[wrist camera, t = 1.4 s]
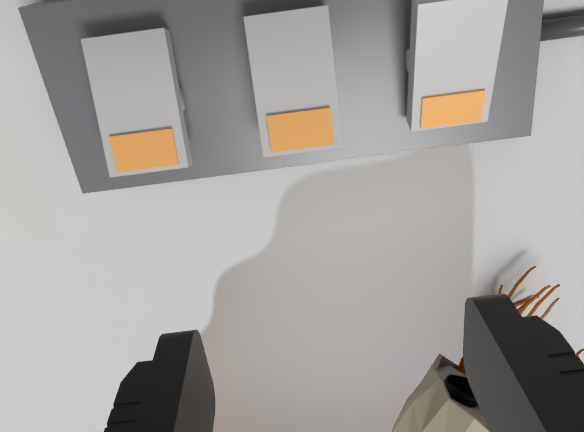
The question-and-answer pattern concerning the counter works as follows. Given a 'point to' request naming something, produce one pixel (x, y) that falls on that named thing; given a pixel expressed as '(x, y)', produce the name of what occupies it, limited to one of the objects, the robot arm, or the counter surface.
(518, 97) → the power strip
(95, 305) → the counter surface
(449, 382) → the nautilus
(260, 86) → the rocker middle
